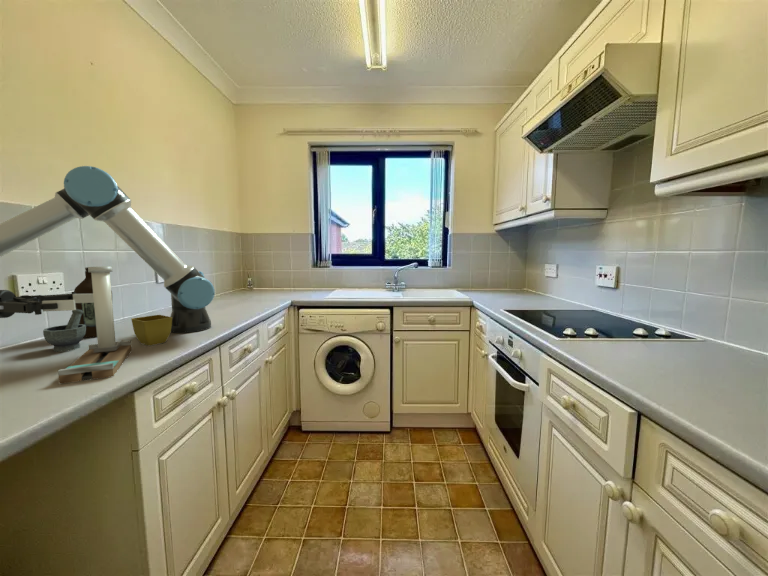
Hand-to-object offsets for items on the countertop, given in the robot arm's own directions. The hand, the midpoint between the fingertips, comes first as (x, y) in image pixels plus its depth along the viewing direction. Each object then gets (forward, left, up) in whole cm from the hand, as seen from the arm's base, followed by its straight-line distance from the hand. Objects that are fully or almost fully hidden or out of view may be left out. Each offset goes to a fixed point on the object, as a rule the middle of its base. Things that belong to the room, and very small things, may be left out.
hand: (88, 301), depth 92 cm
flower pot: (-13, -10, -17) cm, 24 cm away
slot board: (-3, +8, -17) cm, 19 cm away
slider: (-3, 0, -15) cm, 15 cm away
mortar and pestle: (+10, -16, -17) cm, 26 cm away
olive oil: (+7, -33, -17) cm, 38 cm away
